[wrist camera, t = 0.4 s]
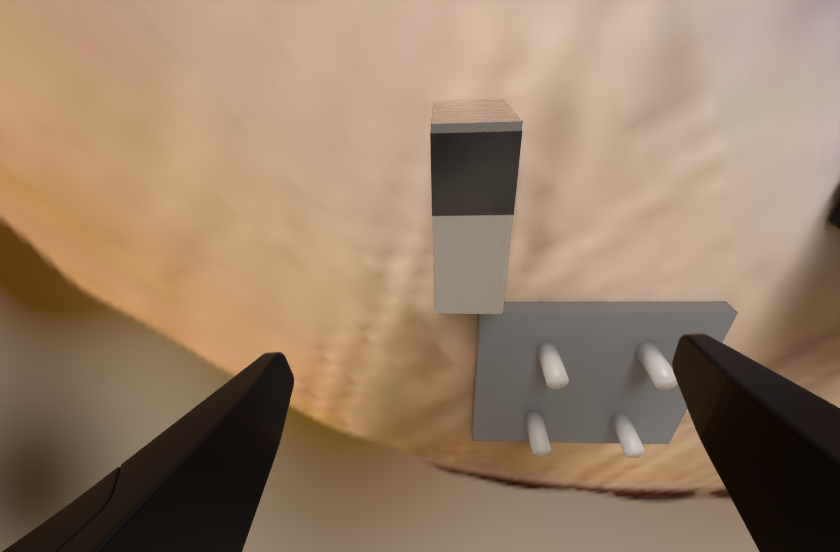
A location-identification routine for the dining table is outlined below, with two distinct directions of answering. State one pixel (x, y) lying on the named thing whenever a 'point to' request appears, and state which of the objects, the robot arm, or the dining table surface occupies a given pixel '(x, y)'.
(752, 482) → the robot arm
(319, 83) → the dining table surface
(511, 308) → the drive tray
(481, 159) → the block
